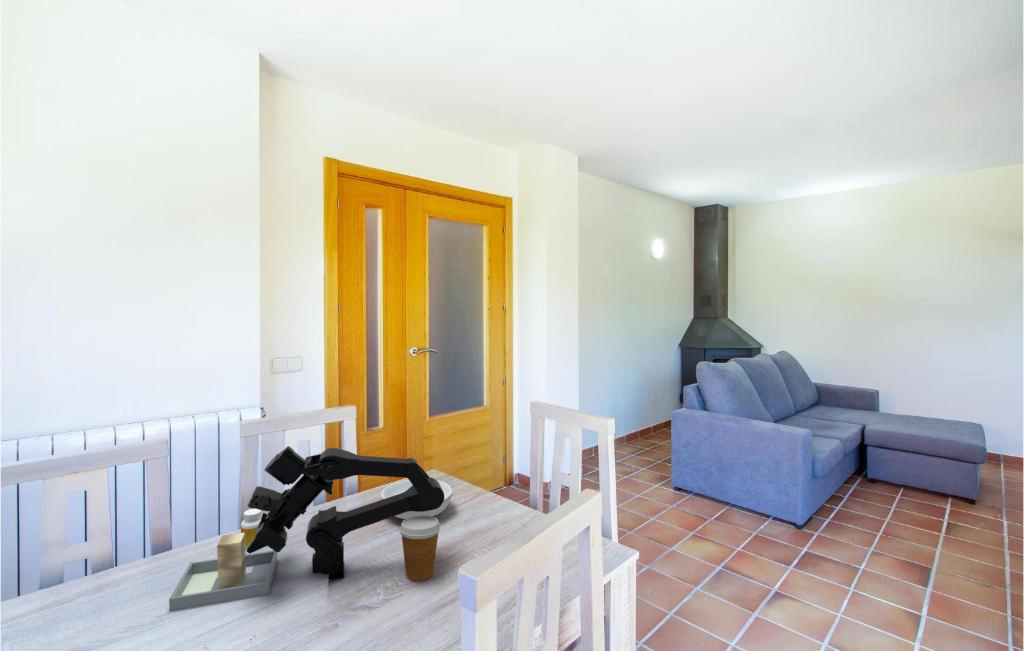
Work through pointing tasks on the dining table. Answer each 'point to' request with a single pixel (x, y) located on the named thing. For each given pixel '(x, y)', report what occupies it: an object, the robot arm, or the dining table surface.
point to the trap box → (203, 582)
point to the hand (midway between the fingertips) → (248, 551)
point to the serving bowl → (405, 485)
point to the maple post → (231, 561)
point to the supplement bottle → (250, 525)
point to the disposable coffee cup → (419, 545)
